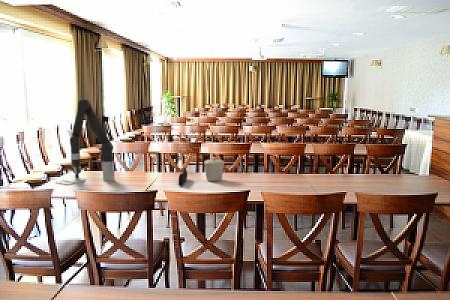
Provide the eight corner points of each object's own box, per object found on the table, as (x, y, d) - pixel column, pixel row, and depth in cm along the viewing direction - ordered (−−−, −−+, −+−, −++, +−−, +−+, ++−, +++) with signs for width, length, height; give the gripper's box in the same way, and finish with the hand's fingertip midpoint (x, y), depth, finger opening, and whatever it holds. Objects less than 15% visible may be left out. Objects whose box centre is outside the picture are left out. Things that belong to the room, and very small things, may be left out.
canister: (207, 178, 370) (207, 155, 367) (226, 179, 366) (226, 155, 363) (201, 182, 353) (201, 158, 350) (221, 183, 348) (221, 158, 345)
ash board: (75, 184, 342) (75, 182, 342) (67, 186, 336) (67, 184, 335) (63, 182, 351) (63, 180, 351) (55, 183, 344) (55, 181, 344)
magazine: (181, 176, 331) (186, 160, 358) (177, 176, 331) (182, 160, 358) (183, 194, 338) (187, 177, 365) (179, 194, 338) (184, 177, 366)
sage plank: (86, 180, 351) (85, 178, 350) (76, 184, 343) (76, 182, 343) (74, 178, 360) (74, 176, 359) (65, 182, 352) (64, 180, 351)
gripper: (84, 158, 352) (85, 178, 354) (74, 157, 359) (76, 176, 362) (76, 159, 346) (78, 179, 348) (67, 158, 353) (68, 178, 355)
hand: (77, 178), depth 355 cm, fingers closed
